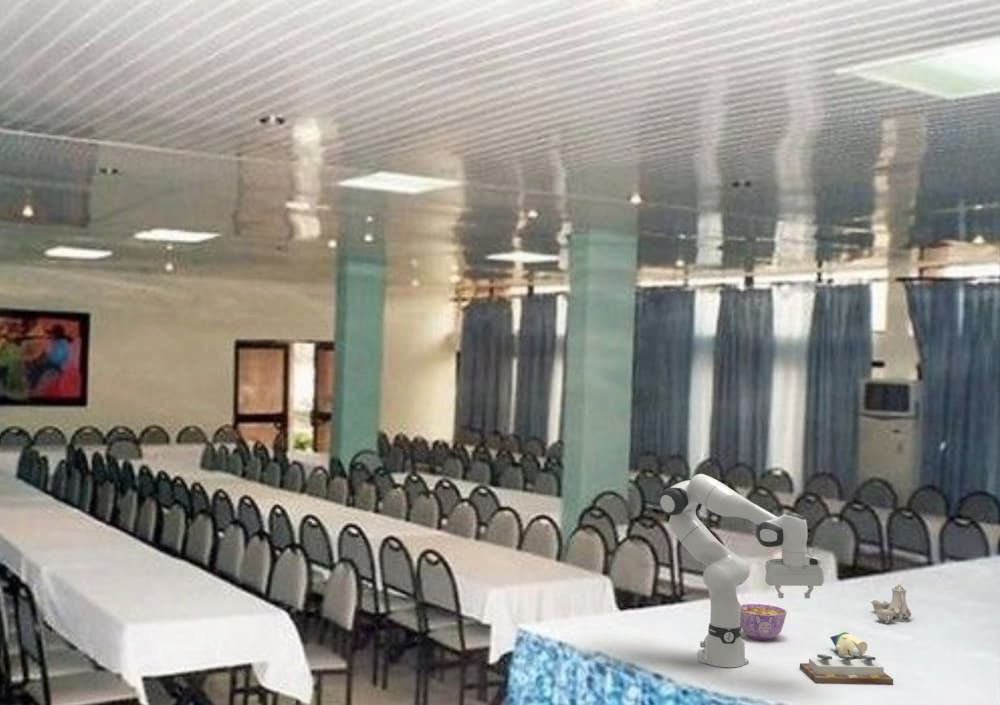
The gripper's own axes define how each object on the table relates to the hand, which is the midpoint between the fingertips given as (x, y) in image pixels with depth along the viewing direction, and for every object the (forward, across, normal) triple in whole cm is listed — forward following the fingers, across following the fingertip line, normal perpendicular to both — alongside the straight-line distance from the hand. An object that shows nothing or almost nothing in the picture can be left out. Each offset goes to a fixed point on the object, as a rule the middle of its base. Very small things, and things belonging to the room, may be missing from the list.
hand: (794, 598), depth 396 cm
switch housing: (+28, +23, +10) cm, 38 cm away
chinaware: (+30, +76, +100) cm, 129 cm away
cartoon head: (+30, +33, +39) cm, 60 cm away
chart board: (+30, +22, +10) cm, 39 cm away
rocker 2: (+23, +23, +10) cm, 34 cm away
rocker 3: (+24, +31, +10) cm, 40 cm away
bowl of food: (+29, +6, +63) cm, 70 cm away
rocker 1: (+23, +15, +10) cm, 29 cm away
